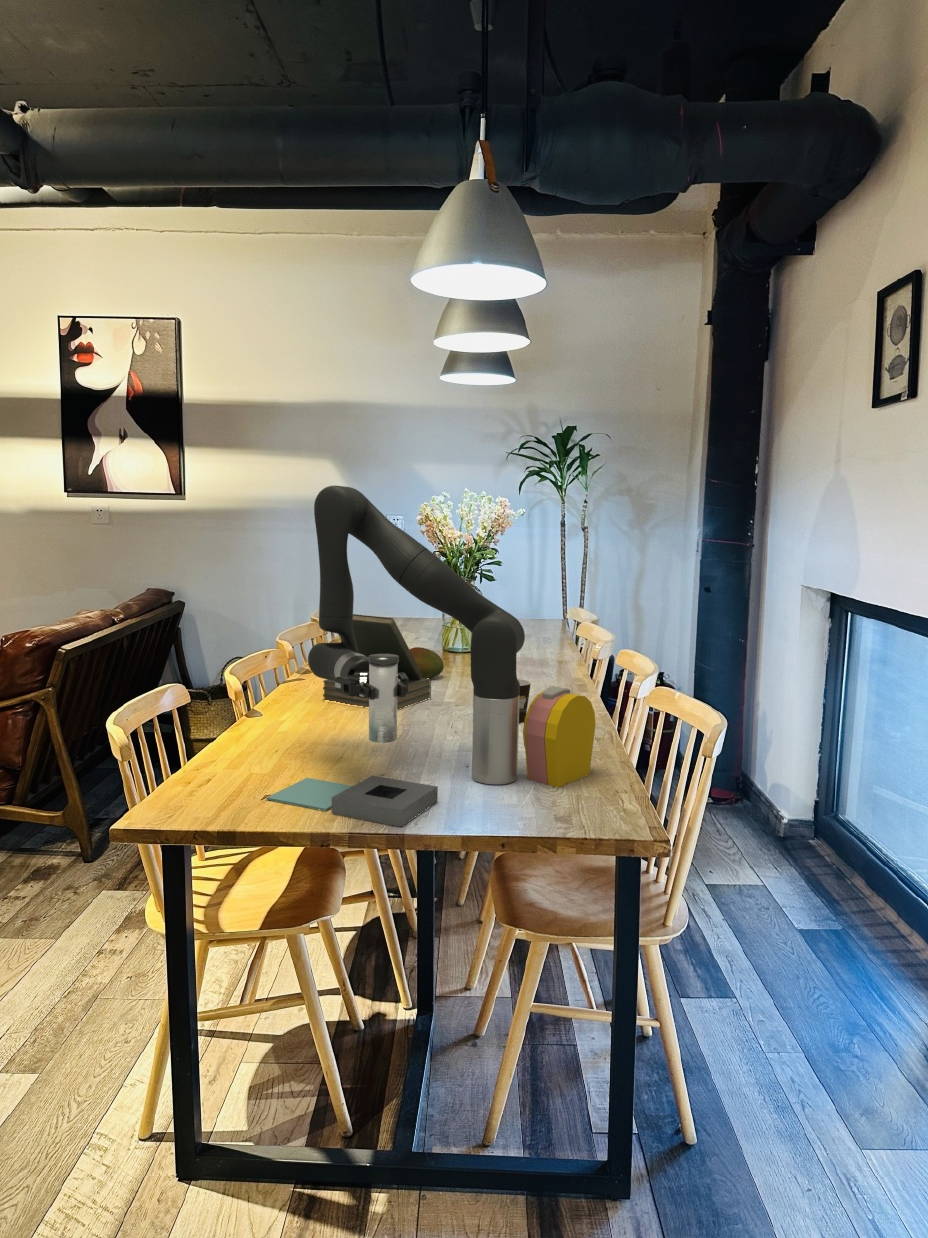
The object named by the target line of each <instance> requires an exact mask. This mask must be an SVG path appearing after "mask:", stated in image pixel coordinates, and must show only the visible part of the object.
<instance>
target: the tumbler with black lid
mask: <svg viewBox="0 0 928 1238" xmlns="http://www.w3.org/2000/svg"><path fill="white" fill-rule="evenodd" d="M368 663H369V684H370V685H372V686H373V687H375V700H370V699H369V709H368V740H369V741H371V742H373V743H378V744H379V743H381V744H382V743H383V744H384V743H393V742H395V741H397V739H398V710H397V674H398V663H399V656H398V655H394V654H373V655H369V656H368Z"/></svg>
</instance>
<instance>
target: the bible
mask: <svg viewBox="0 0 928 1238" xmlns="http://www.w3.org/2000/svg"><path fill="white" fill-rule="evenodd" d="M353 629H354V636H355V641H356V645H357V649H358V653H359V654H362V655H365V656H366V657H368V656H369V655H373V654H394V655H398V656H399V663H398V674H399V673H401V672H403V673H405V674H406V676H407V677H408V692H407V694H406V695H405V697H399V696H397V709H400V708H403V707H405V706H408V705H411V704H414V703H417V702H420V701H423V700H425V699H428V698H431V699H432V694H431V693H432V678H429V679H427V678H421V677H422V676H423V675H422V673H421V671H420V669H419V667H418V665H417V663H416V661H415V659H414V657H413V655H412V654H411V652H410V650H409V649H410V648H409V646H408V644H407V642H406V640H405V638H404V637H403V634H402V633H401V631H400V628H399V627H398V625H397V623H396V621H395V619H394V618H393V617H384V616H375V615H365V614H356V613H355V614H354V613H353ZM322 682H323V687H322V690H323V694H322V697H323V701H324V700H329V701H336V702H340V703H345V704H350V705H357V706H363V707H369V698H359V697H356V696H353V697H351V696H348V695H345V694H342V693H339V692H337V691H335V681H333V680H328V679H324V680H322ZM423 702H424V701H423ZM420 703H421V702H420ZM417 704H418V703H417ZM403 709H404V708H403ZM400 710H401V709H400Z"/></svg>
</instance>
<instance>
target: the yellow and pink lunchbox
mask: <svg viewBox="0 0 928 1238" xmlns="http://www.w3.org/2000/svg"><path fill="white" fill-rule="evenodd" d="M595 732H596V714H595V709H594V707H593V704H592V701H590V699H589V698H588V697H586V695H581V694H580V695H579V694H576V693H575V694H574V693H571V690H570V688H568V687H567V688H566V687H561V686H554V685H553V686H549V687H547V688H546V689H544V690H543V691H542V692H539V693H538V694H536V696H535V697H534V698H533V699H532V701H531V703H530V704H529V706H528V707H527V713H526V716H525V721H524V722H523V730H522V737H523V738H522V739H523V746H524V751H525V764H526V776H527V777H526V778H527V780H528V779H529V780H528V781H531V780H533V781H532V782H535V781H536V783H539V782H540V783H539V784H543V783H544V785H547V784H548V786H550V785H552V786H551V787H554V786H556V787H555V788H558V787H559V788H561V786H562V787H564V786H566V785H568V784H571V783H573V782H575V781H578V780H580V779H582V778H584V777H587V776H589V775H590V772H591V763H592V754H593V748H594V742H595V741H594V740H595ZM588 774H589V775H588ZM586 775H587V776H586ZM583 776H584V777H583ZM581 777H582V778H581ZM579 778H580V779H579ZM577 779H578V780H577ZM574 780H575V781H574ZM572 781H573V782H572ZM570 782H571V783H570ZM567 783H568V784H567ZM565 784H566V785H565ZM563 785H564V786H563Z"/></svg>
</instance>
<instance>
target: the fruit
mask: <svg viewBox="0 0 928 1238" xmlns="http://www.w3.org/2000/svg"><path fill="white" fill-rule="evenodd" d="M409 650H410V652H411V654H412V655H413V657H414V659H415V661H416V663H417V665H418V667H419V669H420V671H421V673H422V675H423V676H422V677H421V678H429V679H432V678H436V677H437V676H440V674H441V673H442V672H443V671H444V668H445V667H444V666H445V664H444V661H443V659H442V657H441V656H440V655H439V654H438V653H436V652H435V651H433V650H431V649H429V648H425V647H421V646H415V647H412V648H409Z"/></svg>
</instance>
